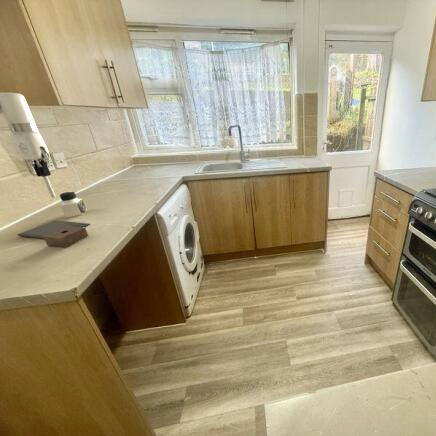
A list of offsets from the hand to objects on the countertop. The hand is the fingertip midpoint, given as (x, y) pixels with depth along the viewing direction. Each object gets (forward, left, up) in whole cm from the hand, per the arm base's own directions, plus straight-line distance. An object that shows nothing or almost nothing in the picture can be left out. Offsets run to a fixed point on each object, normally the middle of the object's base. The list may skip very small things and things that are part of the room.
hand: (44, 175), depth 101 cm
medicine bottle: (+15, +14, -25) cm, 33 cm away
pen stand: (-9, -13, -25) cm, 29 cm away
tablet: (-2, +4, -25) cm, 25 cm away
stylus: (0, 0, -10) cm, 10 cm away
